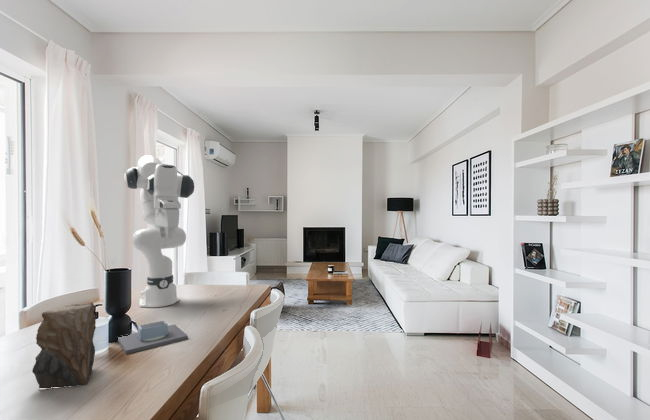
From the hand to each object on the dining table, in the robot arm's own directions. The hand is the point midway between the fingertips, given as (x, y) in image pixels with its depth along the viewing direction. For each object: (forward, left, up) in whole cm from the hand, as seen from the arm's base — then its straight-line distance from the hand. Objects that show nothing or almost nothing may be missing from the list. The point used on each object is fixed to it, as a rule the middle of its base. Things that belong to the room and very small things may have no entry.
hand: (166, 238), depth 133 cm
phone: (+9, -7, -35) cm, 37 cm away
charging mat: (+9, -7, -37) cm, 38 cm away
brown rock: (+26, -32, -37) cm, 55 cm away
